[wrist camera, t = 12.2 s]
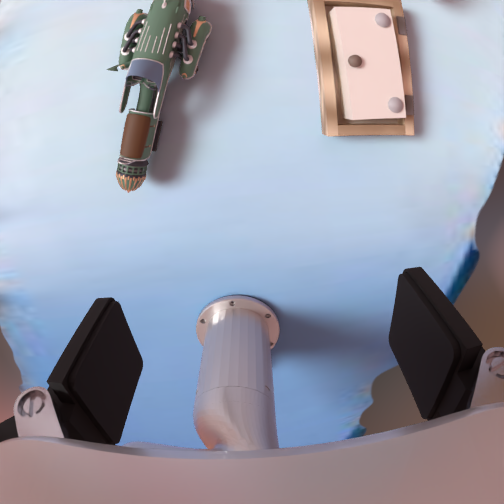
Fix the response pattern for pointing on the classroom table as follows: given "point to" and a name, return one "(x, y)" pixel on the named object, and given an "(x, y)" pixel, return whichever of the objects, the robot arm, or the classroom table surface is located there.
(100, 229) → the classroom table surface
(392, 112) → the pale pink knobbed block
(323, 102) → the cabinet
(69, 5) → the classroom table surface
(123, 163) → the hoverbike
